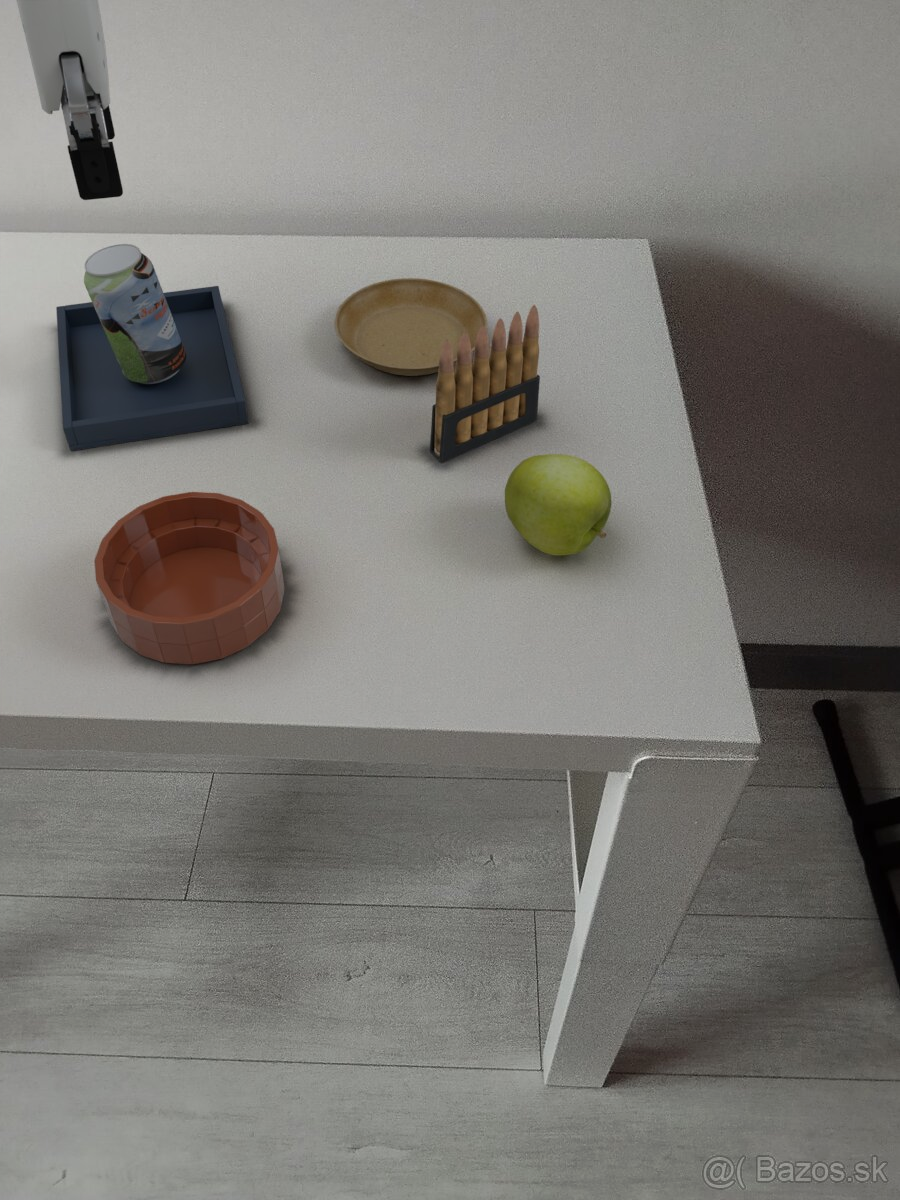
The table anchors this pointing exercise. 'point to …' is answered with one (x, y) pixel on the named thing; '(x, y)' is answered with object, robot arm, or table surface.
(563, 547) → the apple
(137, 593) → the bowl
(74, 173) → the robot arm
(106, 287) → the beverage can
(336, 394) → the table surface
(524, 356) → the ammunition clip
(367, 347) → the plant saucer
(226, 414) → the tray
